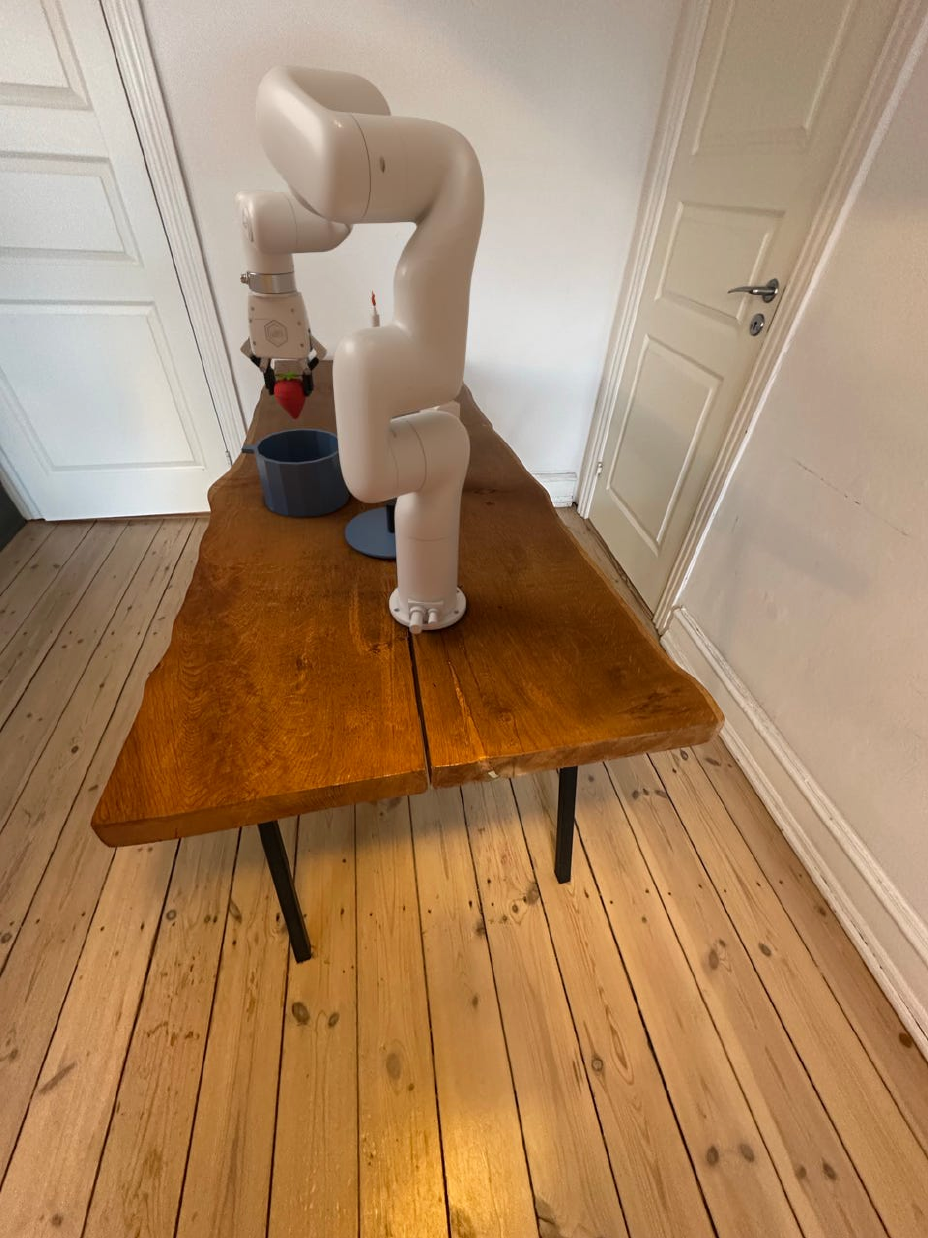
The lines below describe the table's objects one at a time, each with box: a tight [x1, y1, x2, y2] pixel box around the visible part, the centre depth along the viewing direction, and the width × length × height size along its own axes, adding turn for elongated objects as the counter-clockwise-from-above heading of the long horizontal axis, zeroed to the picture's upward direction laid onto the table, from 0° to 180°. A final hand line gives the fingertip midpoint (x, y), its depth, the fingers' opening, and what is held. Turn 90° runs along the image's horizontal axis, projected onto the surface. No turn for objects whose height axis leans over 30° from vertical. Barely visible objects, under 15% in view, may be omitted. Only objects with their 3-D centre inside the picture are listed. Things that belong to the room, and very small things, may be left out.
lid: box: [344, 498, 397, 559], centre depth 105 cm, size 19×19×7 cm
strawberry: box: [273, 363, 307, 420], centre depth 103 cm, size 6×8×10 cm
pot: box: [241, 428, 351, 518], centre depth 114 cm, size 18×23×12 cm
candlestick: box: [370, 290, 381, 328], centre depth 127 cm, size 11×11×35 cm
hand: (290, 392), depth 104 cm, fingers closed on strawberry, 5 cm apart
